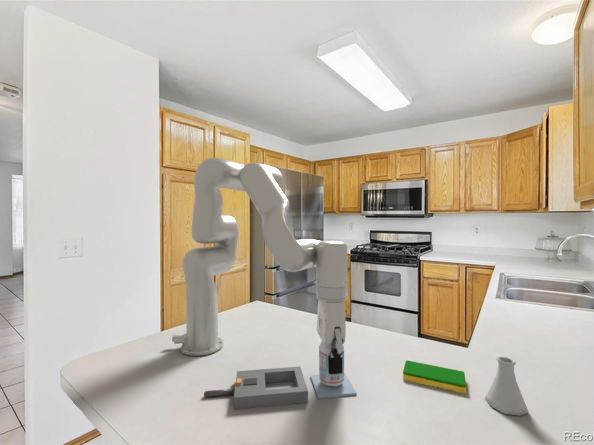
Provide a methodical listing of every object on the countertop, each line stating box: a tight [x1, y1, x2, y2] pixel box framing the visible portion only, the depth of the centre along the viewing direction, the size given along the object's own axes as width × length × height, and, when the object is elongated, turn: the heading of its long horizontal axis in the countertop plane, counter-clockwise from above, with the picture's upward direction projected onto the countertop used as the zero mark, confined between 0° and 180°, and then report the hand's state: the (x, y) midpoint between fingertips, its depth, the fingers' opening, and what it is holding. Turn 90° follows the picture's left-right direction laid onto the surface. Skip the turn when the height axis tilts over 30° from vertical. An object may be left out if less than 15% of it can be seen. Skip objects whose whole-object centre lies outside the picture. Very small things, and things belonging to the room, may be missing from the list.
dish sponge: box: [402, 360, 467, 394], centre depth 73 cm, size 7×14×2 cm, turn 63°
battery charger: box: [203, 365, 309, 410], centre depth 68 cm, size 23×11×3 cm, turn 98°
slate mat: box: [310, 372, 358, 399], centre depth 71 cm, size 9×9×1 cm
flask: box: [484, 356, 529, 417], centre depth 63 cm, size 7×7×10 cm
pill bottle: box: [318, 340, 345, 386], centre depth 71 cm, size 6×6×11 cm
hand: (331, 365), depth 71 cm, fingers closed on pill bottle, 6 cm apart
